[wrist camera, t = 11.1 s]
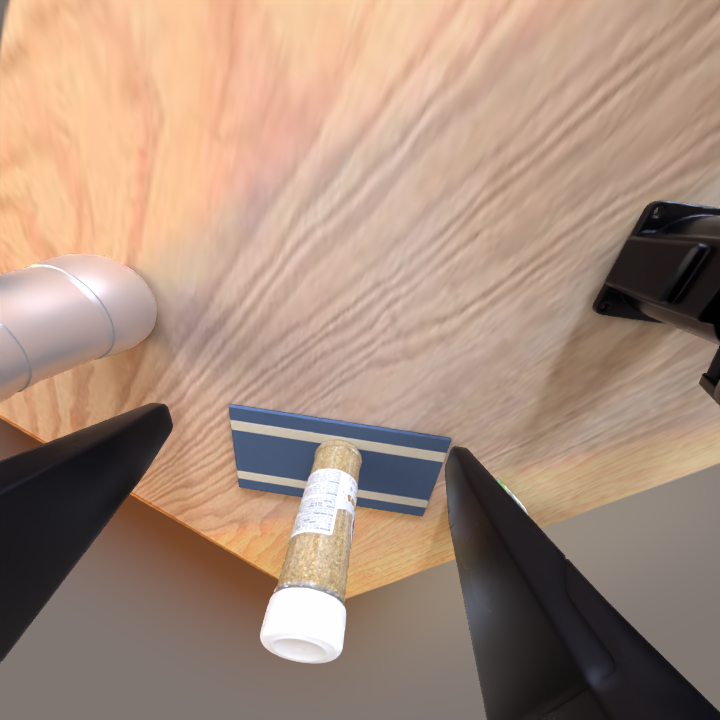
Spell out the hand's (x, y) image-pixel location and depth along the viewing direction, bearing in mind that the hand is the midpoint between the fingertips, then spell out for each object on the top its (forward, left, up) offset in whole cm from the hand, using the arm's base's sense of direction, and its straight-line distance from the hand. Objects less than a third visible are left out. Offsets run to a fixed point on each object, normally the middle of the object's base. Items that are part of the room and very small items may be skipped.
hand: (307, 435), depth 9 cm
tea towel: (0, +16, -13) cm, 21 cm away
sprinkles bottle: (0, +14, -13) cm, 19 cm away
